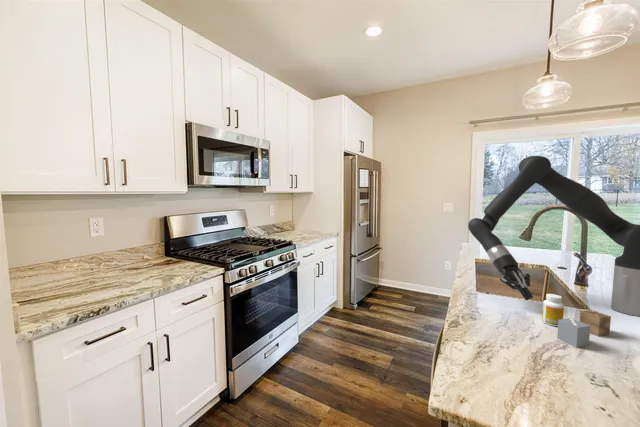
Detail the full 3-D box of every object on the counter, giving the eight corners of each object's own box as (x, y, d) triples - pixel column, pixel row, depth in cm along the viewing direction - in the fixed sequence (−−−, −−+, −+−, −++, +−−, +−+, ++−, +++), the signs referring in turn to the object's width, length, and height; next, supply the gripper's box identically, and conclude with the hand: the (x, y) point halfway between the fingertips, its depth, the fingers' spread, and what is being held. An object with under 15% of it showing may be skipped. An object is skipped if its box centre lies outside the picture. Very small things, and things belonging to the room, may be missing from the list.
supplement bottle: (567, 327, 89) (569, 299, 88) (549, 326, 89) (551, 298, 89) (554, 320, 94) (556, 293, 94) (538, 319, 95) (539, 292, 94)
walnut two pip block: (590, 327, 90) (591, 309, 89) (609, 334, 85) (611, 315, 84) (579, 328, 88) (580, 310, 88) (598, 336, 84) (599, 317, 83)
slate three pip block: (569, 336, 83) (570, 317, 83) (588, 345, 78) (590, 325, 78) (557, 338, 82) (558, 319, 82) (576, 347, 77) (577, 327, 77)
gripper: (494, 254, 106) (523, 295, 95) (520, 252, 109) (551, 292, 98) (482, 264, 112) (508, 304, 101) (508, 262, 115) (535, 301, 104)
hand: (529, 298), depth 100 cm, fingers closed
